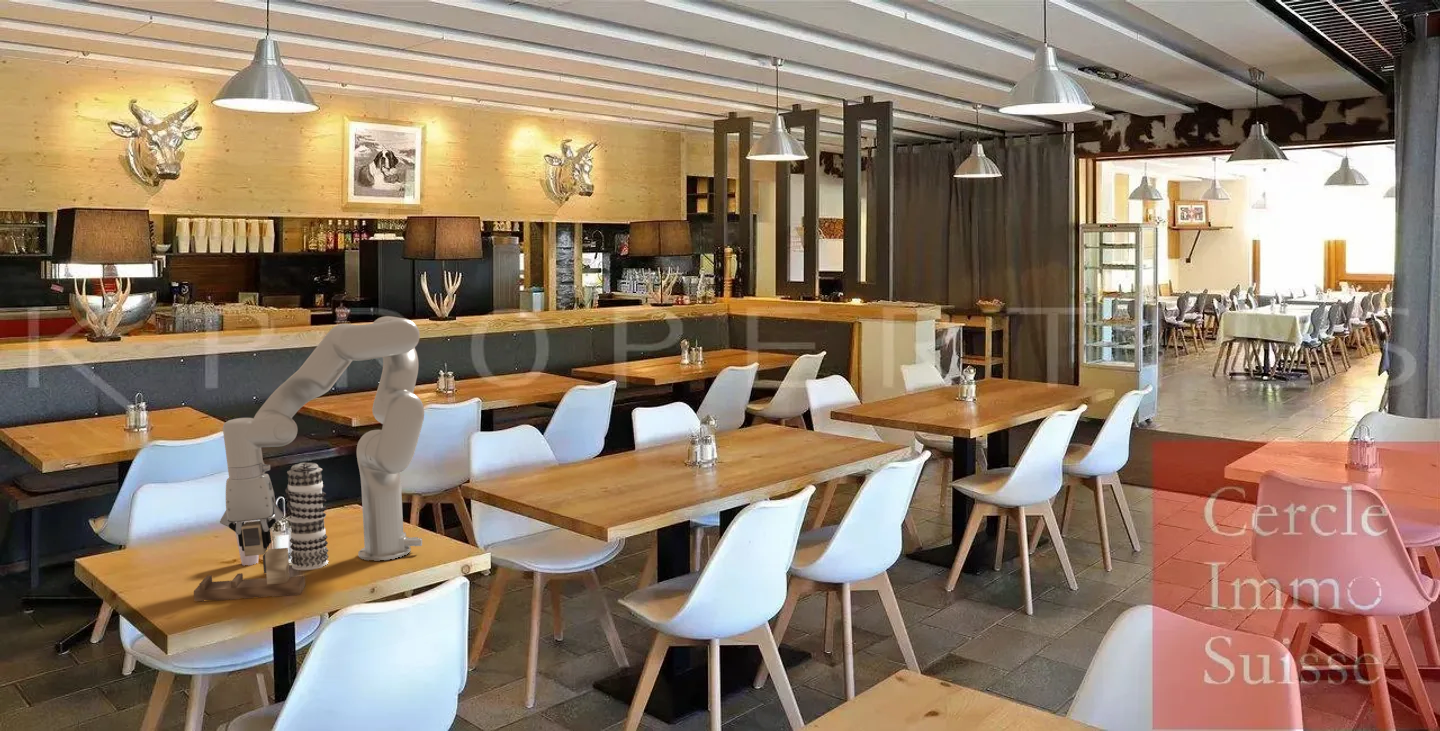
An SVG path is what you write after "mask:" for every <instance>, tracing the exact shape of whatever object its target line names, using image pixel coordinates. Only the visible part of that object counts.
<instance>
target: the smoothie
mask: <svg viewBox="0 0 1440 731" xmlns="http://www.w3.org/2000/svg"><path fill="white" fill-rule="evenodd" d="M247 522H251V521H247ZM244 524H245V522H244ZM234 533H235V538H236V542H237V548H238V552H239V557H240V562H241V565H242V566H245V565H248V566H254V565H256V563H257V564H259V556H260V555H253V556H245V552H244V551H242V547H240V546H239V539H238V535H237V534H236V532H234ZM253 564H254V565H253Z"/></svg>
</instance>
